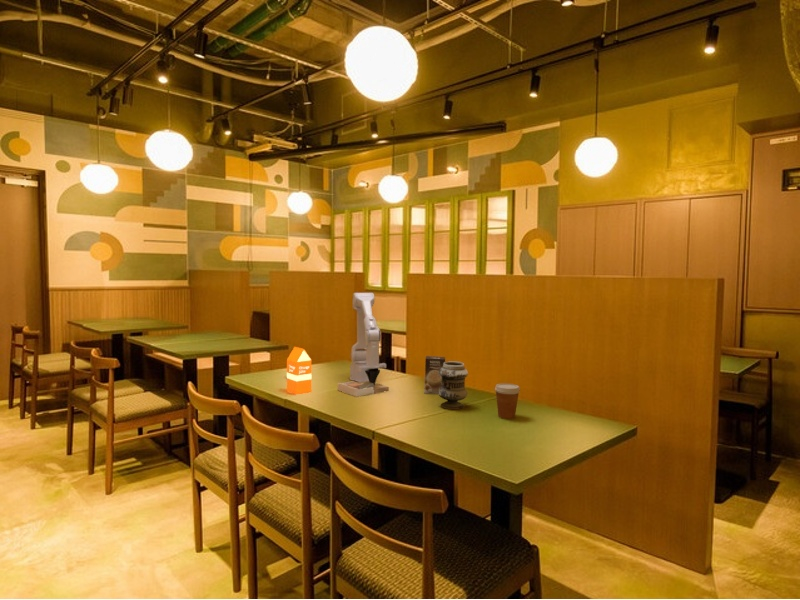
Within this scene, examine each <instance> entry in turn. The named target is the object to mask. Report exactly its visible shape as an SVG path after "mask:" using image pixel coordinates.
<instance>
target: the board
mask: <svg viewBox="0 0 800 600" xmlns="http://www.w3.org/2000/svg"><path fill="white" fill-rule="evenodd" d="M365 382H366V381H363V382H357V383H359V384H363V383H365ZM367 382H369V381H367ZM373 390H374V394H380V393H379V392H381V393H385V392H384V391H386V392H389V391H390V386H388V385H384V384H382V383H378V382H375V385H374V388H373Z"/></svg>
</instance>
